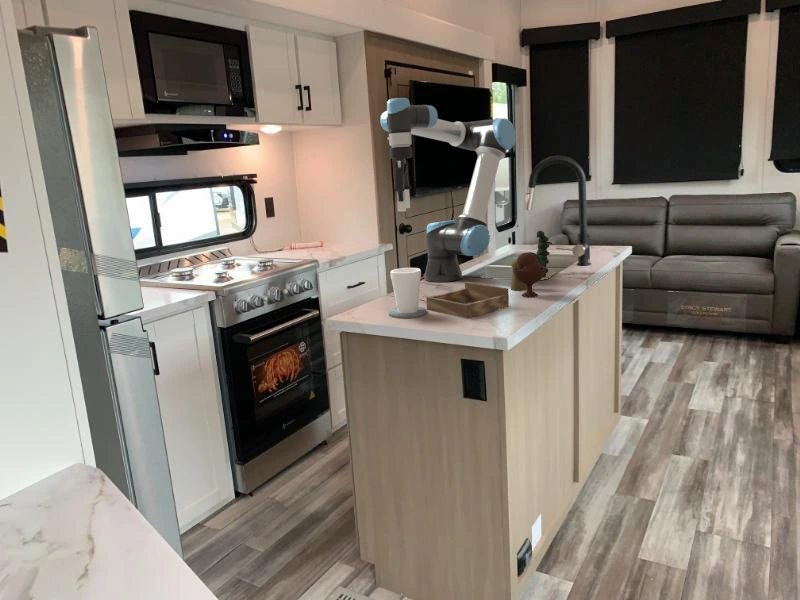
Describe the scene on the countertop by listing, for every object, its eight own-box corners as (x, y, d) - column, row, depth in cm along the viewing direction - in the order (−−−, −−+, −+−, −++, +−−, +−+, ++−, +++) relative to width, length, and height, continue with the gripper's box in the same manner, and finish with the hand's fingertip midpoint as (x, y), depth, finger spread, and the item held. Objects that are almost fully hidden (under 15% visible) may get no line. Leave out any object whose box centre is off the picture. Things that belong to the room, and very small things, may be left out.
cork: (507, 289, 223) (506, 258, 221) (521, 286, 225) (520, 257, 223) (516, 291, 218) (516, 260, 215) (531, 289, 220) (530, 258, 217)
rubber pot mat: (410, 307, 204) (410, 304, 204) (434, 312, 195) (434, 310, 195) (381, 314, 197) (381, 311, 197) (404, 320, 188) (404, 317, 188)
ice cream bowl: (547, 299, 204) (546, 253, 201) (512, 299, 206) (511, 255, 203) (546, 292, 214) (545, 249, 211) (513, 292, 216) (512, 250, 213)
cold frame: (467, 299, 211) (467, 281, 209) (508, 306, 196) (508, 288, 195) (426, 309, 200) (426, 291, 198) (467, 318, 185) (466, 298, 184)
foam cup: (428, 310, 194) (426, 270, 192) (404, 316, 189) (401, 274, 187) (411, 306, 202) (408, 266, 199) (387, 311, 197) (384, 270, 194)
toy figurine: (532, 277, 251) (510, 283, 229) (533, 230, 248) (510, 232, 227) (555, 278, 246) (534, 284, 225) (556, 230, 243) (535, 232, 222)
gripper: (394, 147, 221) (397, 207, 226) (384, 146, 197) (388, 213, 202) (415, 146, 220) (418, 206, 225) (407, 144, 196) (411, 212, 201)
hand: (404, 209), depth 214 cm, fingers open, 13 cm apart
